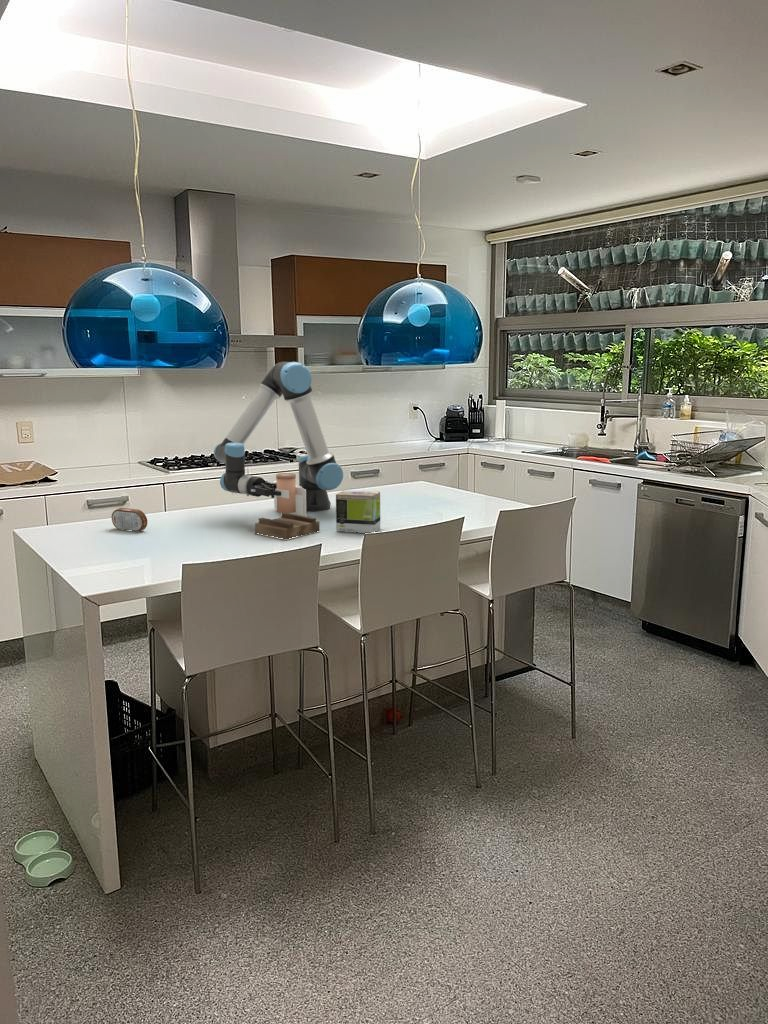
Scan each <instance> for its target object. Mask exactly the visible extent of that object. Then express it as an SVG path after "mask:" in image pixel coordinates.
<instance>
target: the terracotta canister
mask: <svg viewBox="0 0 768 1024" xmlns="http://www.w3.org/2000/svg"><path fill="white" fill-rule="evenodd" d="M296 474H297V473H293V472H280V473H275V476H276V477H275V479H276V480H275V481H276V482H277V489H281V490H287V491H289V498H282V497H277V511H276V513H280V514H281V513H294V512H296V485H297V483H296V477H297V476H296Z"/></svg>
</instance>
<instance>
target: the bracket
mask: <svg viewBox="0 0 768 1024" xmlns="http://www.w3.org/2000/svg"><path fill="white" fill-rule="evenodd" d="M275 482H276V480H274V481H273V483H275ZM296 487H300V488H302V486H299V485H297V484H296ZM273 510H274V512H277V496H275V495H274V498H273ZM290 514H295V515H301V516H306V517H307V511H306V489H304V495H303V496H302V495H296V512H294V513H290ZM281 517H282V513H280V518H281Z"/></svg>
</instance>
